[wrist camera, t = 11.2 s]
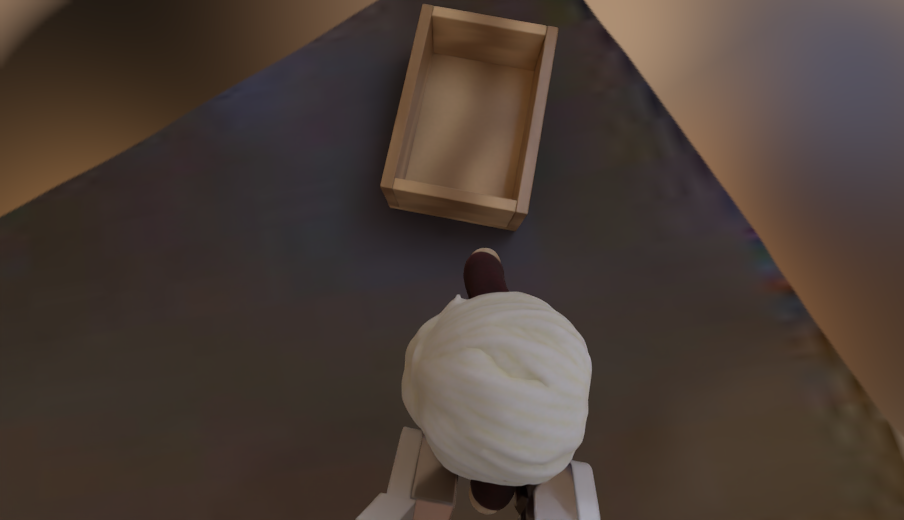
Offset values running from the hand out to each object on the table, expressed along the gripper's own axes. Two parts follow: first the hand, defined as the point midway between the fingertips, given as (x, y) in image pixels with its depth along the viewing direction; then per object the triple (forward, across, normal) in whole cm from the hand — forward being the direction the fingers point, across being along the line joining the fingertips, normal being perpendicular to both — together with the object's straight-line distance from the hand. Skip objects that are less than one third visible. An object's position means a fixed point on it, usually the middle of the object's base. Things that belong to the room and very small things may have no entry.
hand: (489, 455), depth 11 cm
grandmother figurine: (+7, -1, +4) cm, 8 cm away
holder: (+26, +3, +1) cm, 26 cm away
